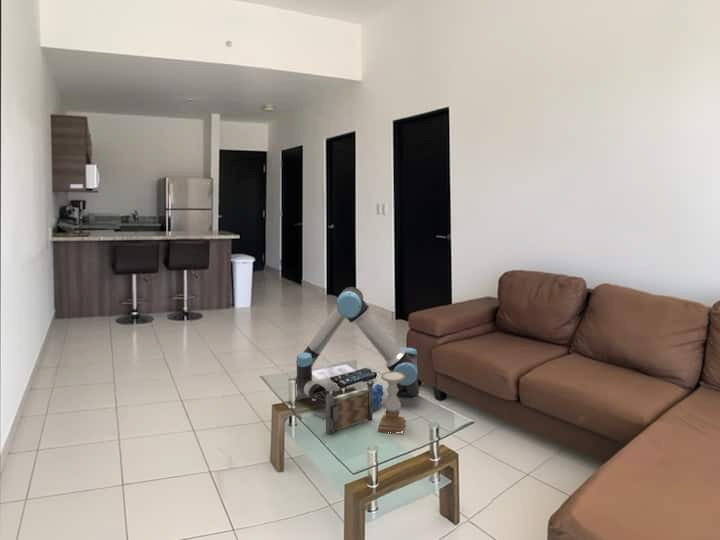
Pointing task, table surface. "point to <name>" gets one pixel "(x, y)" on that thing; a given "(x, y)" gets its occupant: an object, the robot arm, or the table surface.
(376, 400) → the grapes
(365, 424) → the table surface
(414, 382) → the robot arm
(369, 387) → the hinge post
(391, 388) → the candle holder
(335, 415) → the post
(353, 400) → the gate
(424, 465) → the table surface
